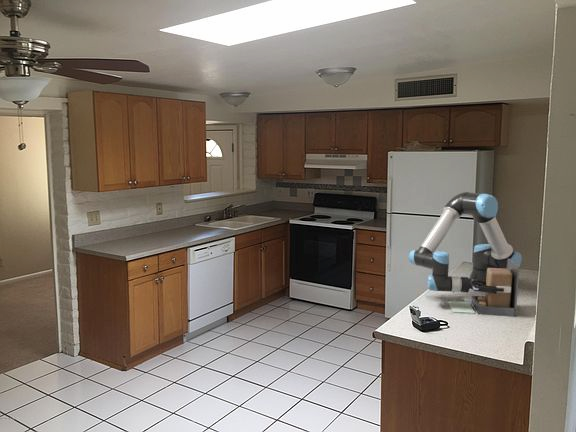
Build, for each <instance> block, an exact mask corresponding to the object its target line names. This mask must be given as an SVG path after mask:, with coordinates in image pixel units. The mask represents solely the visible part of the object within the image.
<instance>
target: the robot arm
mask: <svg viewBox="0 0 576 432" xmlns="http://www.w3.org/2000/svg"><path fill="white" fill-rule="evenodd" d="M498 211H499V203H498V199H497V198H496V197H495V196H493V195H491V194H488V193H479V192H478V193H477V192H469V191H466V192H465V191H463V192H461V193H458V194H457V195H454V196H453V197H452V198H451V199H450V200H449V201H448V202H447V203H446V204H445V205H444V207H443V208H442V213H441V215H440V217H438V219H437V221H436V222H435V224H434V225H433V227H432V228H431V230H430V231H429V232H428V234H427V236H426V237H425V238H424V240H423V241H422V243H421V245H420V246H419V248H418V249H413V250H411V251H410V252H409V254H408V261H409V262H410V263H411V264H412V265H414V266H418V267H423V268H426V269H430V270H432V272H431V274H429V275H428V276H427V280H426V281H427V282H426V283H427V289H428V290H429V291H435V292H452V294H453V293H455V292H456V293H459V292H461V293H469V292H470V290H473V292H480V293H481V292H482V293H486V292H487V293H494V294H496V292H504V293H511V287H502V286H496V287H493V286H488V285H486V278H487V269H488V268H503V269H507V261H508V259H510V260H512V261H513V262H514V263H515V264H516V265H518V266H519V267H520V266H521V264H522V259H523V258H522V254H521V253H520V252H518V251H515V250H514V248H513V246H512V245H511V244H509V243H508V242H507V240H506V238H505V235H504V233H503V231H502V229H501V227H500V224H499V222H498V220H497V217H496V216H497V213H498ZM463 215H468V216H471V217H472V218H473V221H474V222H475V223H478V224H479V227H481V231H482V232H483V234H484V236H485V238H486V241H487V243H484V244H483V243H482V244H476V245H474V247H473V248H474V249H473V259H472V270H471V272H470V276H469V277H468V276H452V275H451V276H449V267H450V254H449V253H448V252H446V251H436V250H437V249H438V247H439V246H440V244H441V242H442V241H443V240H444V238H445V237H446V235H447V234H448V232H449V231H450V230H451V228H452V226H453V225H454V224H455V222H456V220H459V219H460V217H462V216H463ZM493 289H494V290H493Z"/></svg>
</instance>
